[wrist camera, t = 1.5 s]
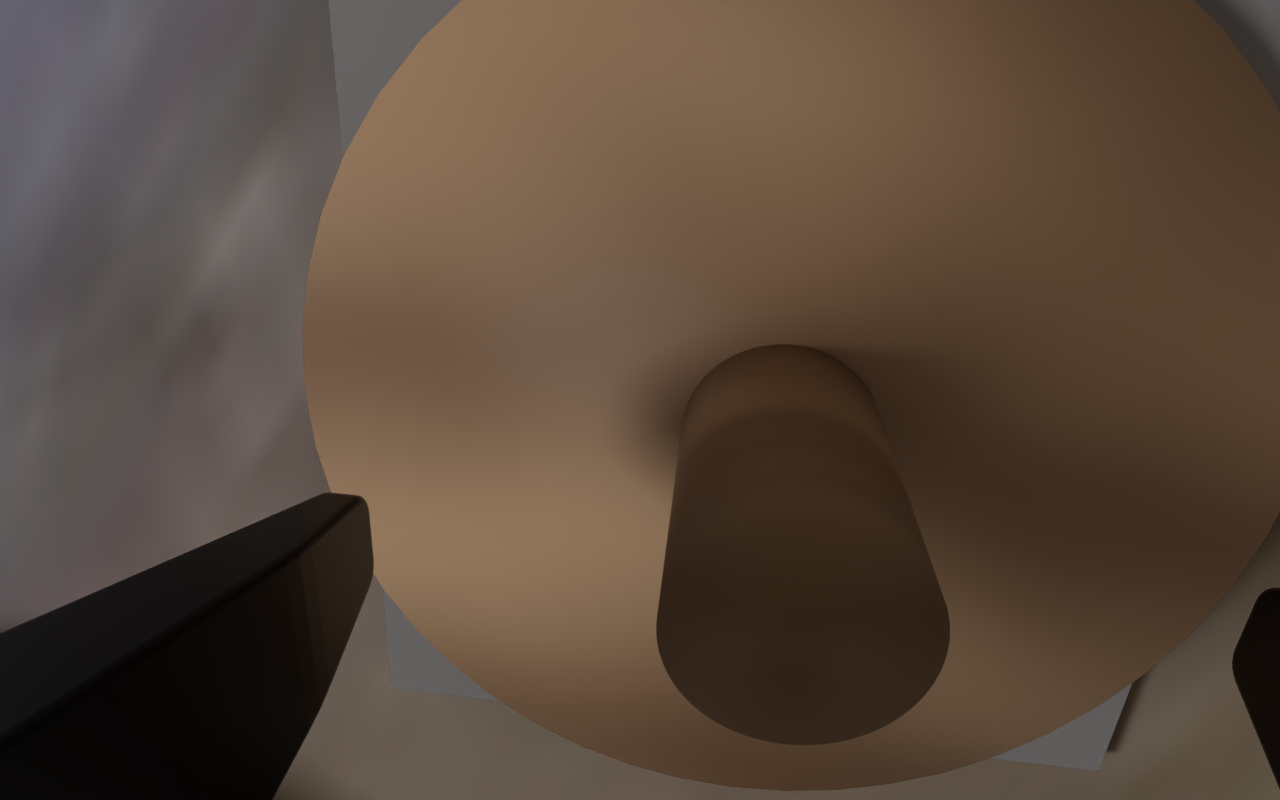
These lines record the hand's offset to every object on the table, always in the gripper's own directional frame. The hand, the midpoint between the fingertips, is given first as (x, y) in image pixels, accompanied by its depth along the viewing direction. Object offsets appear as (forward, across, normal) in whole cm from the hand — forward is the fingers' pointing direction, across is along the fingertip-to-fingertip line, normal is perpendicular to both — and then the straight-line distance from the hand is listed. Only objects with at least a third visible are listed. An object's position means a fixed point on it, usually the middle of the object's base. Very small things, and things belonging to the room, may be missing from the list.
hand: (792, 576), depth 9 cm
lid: (+4, 0, 0) cm, 4 cm away
